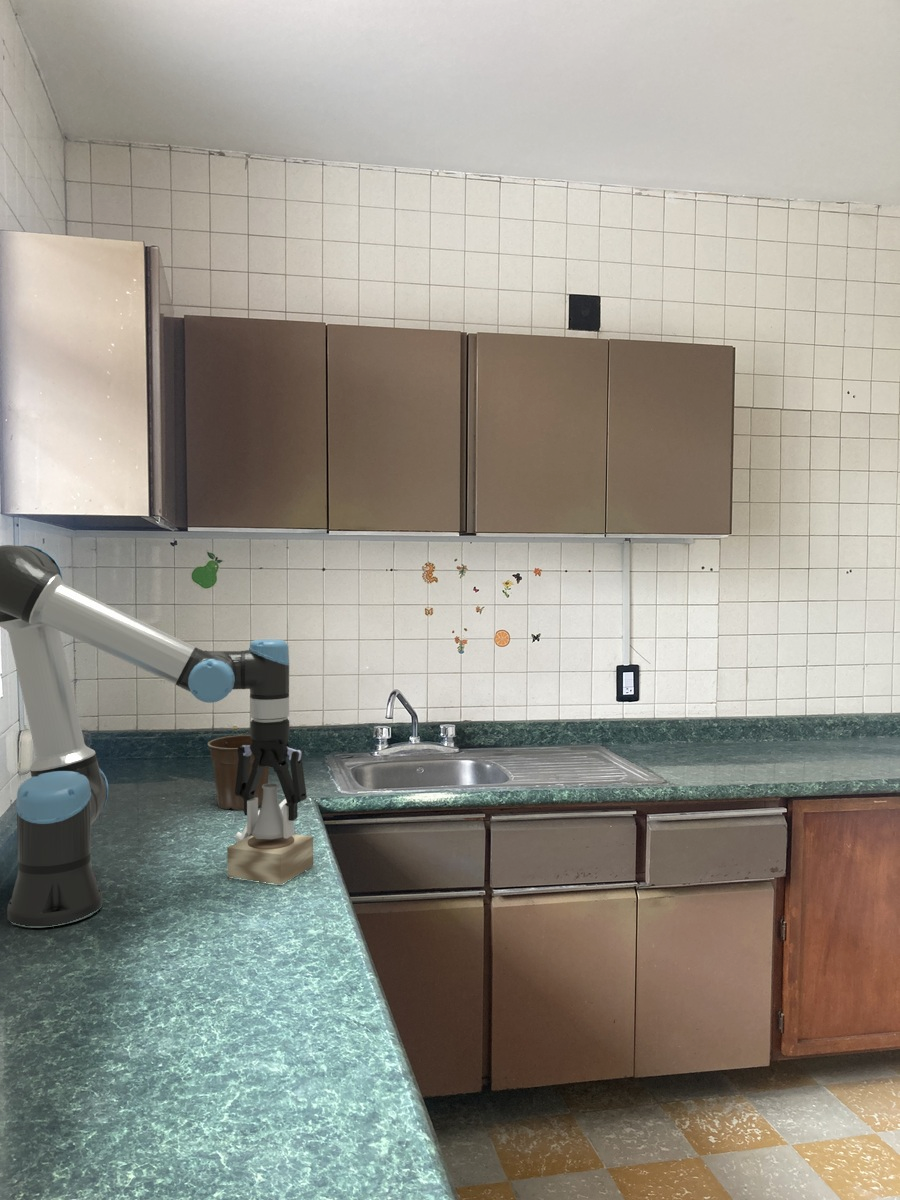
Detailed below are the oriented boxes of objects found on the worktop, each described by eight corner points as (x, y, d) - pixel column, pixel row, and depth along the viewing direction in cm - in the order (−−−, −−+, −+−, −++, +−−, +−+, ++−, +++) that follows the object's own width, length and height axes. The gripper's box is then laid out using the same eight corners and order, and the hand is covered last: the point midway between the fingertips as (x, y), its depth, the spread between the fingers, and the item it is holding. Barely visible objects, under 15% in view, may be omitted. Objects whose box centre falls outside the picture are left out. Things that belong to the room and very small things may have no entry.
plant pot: (225, 817, 214) (225, 750, 214) (197, 803, 227) (197, 740, 226) (286, 805, 225) (285, 741, 224) (256, 792, 237) (255, 732, 237)
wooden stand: (227, 878, 173) (227, 845, 173) (262, 858, 184) (261, 828, 184) (281, 886, 169) (281, 853, 168) (313, 866, 180) (313, 835, 180)
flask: (252, 842, 172) (252, 790, 171) (251, 831, 179) (250, 781, 178) (290, 839, 173) (290, 788, 173) (287, 828, 180) (287, 779, 180)
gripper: (325, 718, 175) (325, 834, 176) (236, 712, 182) (237, 823, 183) (305, 725, 168) (306, 845, 169) (214, 718, 175) (215, 833, 176)
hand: (270, 833), depth 176 cm, fingers closed on flask, 7 cm apart
